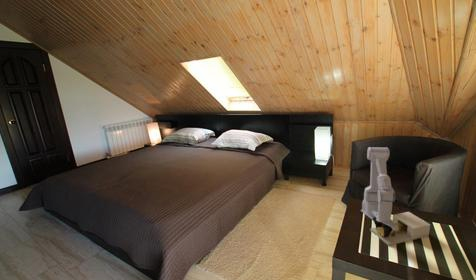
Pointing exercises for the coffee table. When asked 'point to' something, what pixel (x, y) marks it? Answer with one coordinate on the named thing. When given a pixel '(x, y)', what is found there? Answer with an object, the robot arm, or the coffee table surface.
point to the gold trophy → (400, 226)
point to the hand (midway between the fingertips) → (382, 233)
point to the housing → (414, 230)
